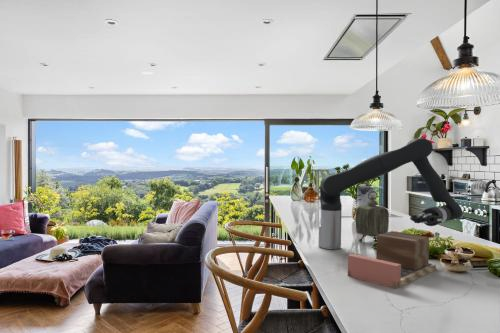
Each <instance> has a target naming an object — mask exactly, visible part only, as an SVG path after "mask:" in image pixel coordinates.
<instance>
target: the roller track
mask: <svg viewBox="0 0 500 333" xmlns="http://www.w3.org/2000/svg"><path fill="white" fill-rule="evenodd" d="M434 271H437V264H435V263H429V262H428V265H425V266H423V267H421V268H418V269H416V270H410V269H406V268H401V264H397V263H392V262H388V261H383V260H378V259H376V258H373V257H369V256H364V255H359V254H354V253H351V254H347V276H348V277H351V278H355V279H357V280H358V279H359V280H362V281H367V282H370V283H373V282H374V284H377V283H378V285H381V284H382V285H381V286H385V285H386V286H385V287H388V286H390V287H389V288H392V287H394V288H393V289H398V288H397V287H399V288H400V286H401V287H403V286H405V285H407V284H409V283H411V282H413V281H415V280H417V279H419V278H422V277H424V276H425V275H428V274H430V273H432V272H434ZM406 283H407V284H406ZM404 284H405V285H404ZM402 285H403V286H402Z"/></svg>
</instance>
